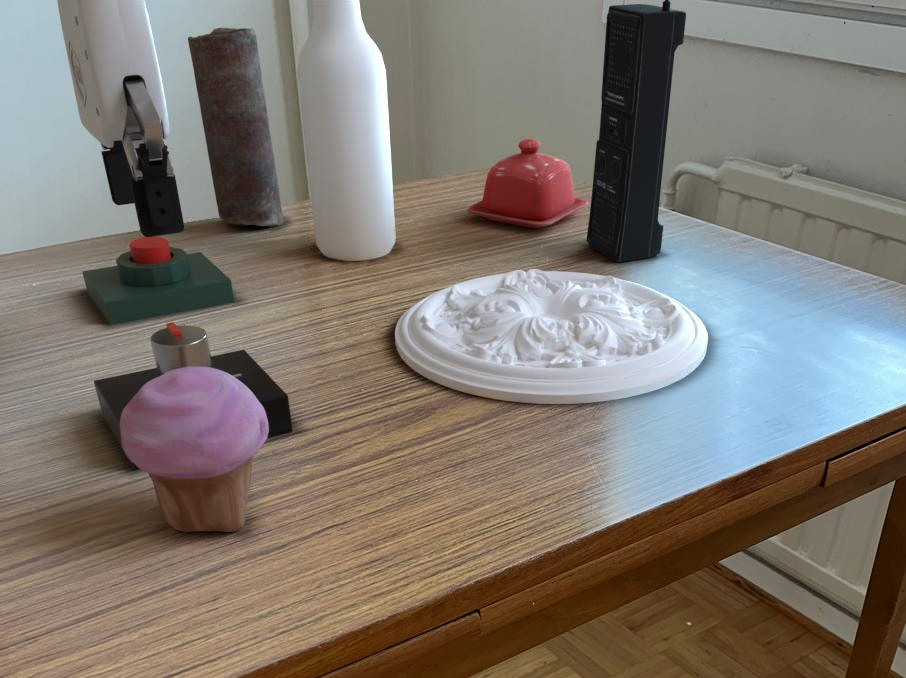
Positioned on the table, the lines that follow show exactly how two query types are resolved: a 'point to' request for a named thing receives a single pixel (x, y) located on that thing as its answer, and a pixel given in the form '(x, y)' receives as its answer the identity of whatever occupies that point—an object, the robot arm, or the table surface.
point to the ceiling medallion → (551, 338)
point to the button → (150, 250)
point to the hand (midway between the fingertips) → (147, 217)
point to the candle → (236, 126)
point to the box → (157, 286)
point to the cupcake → (196, 445)
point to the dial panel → (238, 364)
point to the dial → (180, 348)
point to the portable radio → (633, 129)
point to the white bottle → (346, 134)
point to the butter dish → (528, 189)
